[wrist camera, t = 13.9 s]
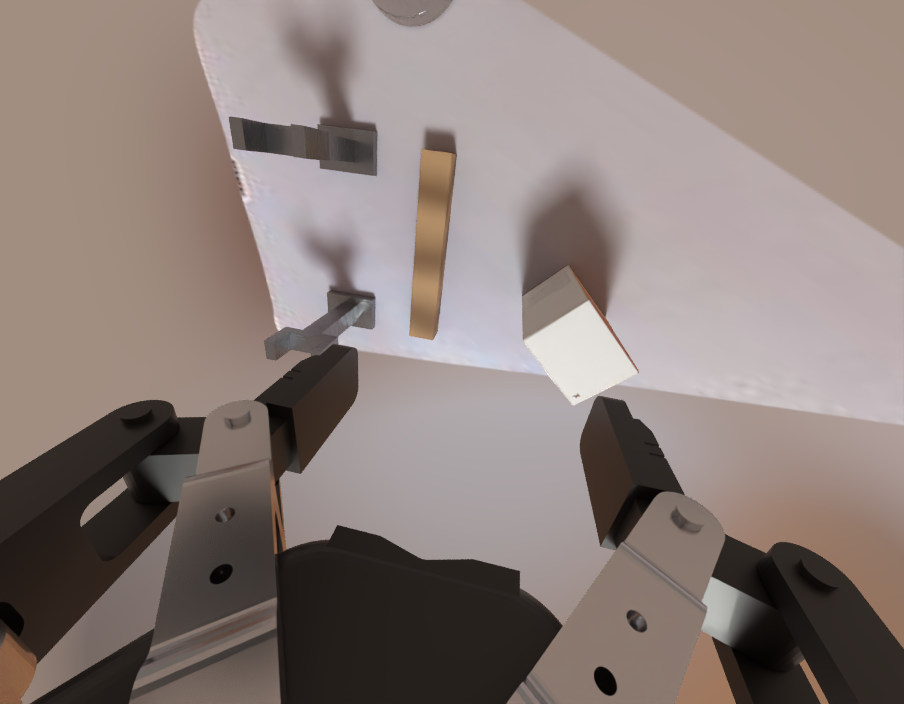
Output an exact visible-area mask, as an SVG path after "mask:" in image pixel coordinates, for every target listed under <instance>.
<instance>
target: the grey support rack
mask: <svg viewBox="0 0 904 704" xmlns="http://www.w3.org/2000/svg"><path fill="white" fill-rule="evenodd" d="M229 122H230V129H231V135H232V141H233V148H234V149H239V150H247V151H257V152H266V153H274V154H281V155H289V156H294V157H299V158H306V159H316V160H320V168H321V169H329V170H336V171H343V172H350V173H358V174H365V175H372V176H377V132H374V131H368V130H360V129H352V128H344V127H336V126H327V125H319V124H318V129H315V128H311V127H307V126H301V125H293V124H291V126H283V125H275V124H267V123H262V122H257V121H252V120H248V119H243V118H236V117H229ZM327 298H328V313H327V314H325V315H324V316H322V317H321V318H320V319H318V320H317V321H315V322H314V323H312V324H311V325H309V326H308V327H306V328H305V329H304V330H300V329H295V328H290V327H285V328H283V329H282V330H280V331H279V332H277V333H275V334H274V335H272V336H271V337H269V338H267V339H266V340H264V344H265V350H266V356H267V359H271V360H278V359H279V358H280V357H282V356H283V355H284V354H286V353H287V352H288V351H290V350H296V351H302V352H307V353H311V357H312V356H314V355H319V356H320V355H321V354H322V353H323V352H324V351H325V350H326V349H328V348H329V347H330V346H331V345H332V344H338V336H339V335H340V334H342V333H343V332H344V331H345V330H346V329H347V328H348V327H350V326H356V327H361V328H366V329H373V328H374V327H375V298H372V297H366V296H360V295H355V294H349V293H343V292H338V291H332V290H331V291H329V292H327Z"/></svg>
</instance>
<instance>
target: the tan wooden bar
mask: <svg viewBox="0 0 904 704" xmlns="http://www.w3.org/2000/svg"><path fill="white" fill-rule="evenodd" d="M456 157H457V155H456V154H453V153H447V152H439V151H432V150H424V149H422V151H421V166H420V181H419V197H418V212H417V227H416V242H415V257H414V272H413V287H412V303H411V318H410V333H409V336H413V337H419V338H424V339H429V340H433V339H434V337H435V335H436V334H437V332H438V323H439V314H440V305H441V295H442V286H443V277H444V268H445V259H446V249H447V240H448V231H449V222H450V213H451V203H452V194H453V185H454V176H455V167H456Z"/></svg>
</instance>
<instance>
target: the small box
mask: <svg viewBox="0 0 904 704" xmlns="http://www.w3.org/2000/svg"><path fill="white" fill-rule="evenodd" d="M522 321H523V342H524V344H525V345H526V346H527V348H528V349H529V350H530V352H531V353H532V354H533V356H534V357H535V358H536V360H537V361H538V362H539V364H540V365H541V366H542V368H543V369H544V371H545V372H546V373H547V375H548V376H549V377H550V379H551V380H552V381H553V382H554V383H555V384H556V385H557V387H558V388H559V389H560V390H561V392H562V393H563V394H564V395H565V397H566V398H567V399H568V400H569V402H570V403H571V404H572V405H576V404H577V403H579V402H581V401H583V400H586V399H588V398H590V397H592V396H594V395H596V394H598V393H600V392H602V391H603V390H606V389H608V388H610V387H612V386H614V385H616V384H618V383H620V382H622V381H624V380H626V379H628V378H630V377H631V376H633V375H635V374H637V373H639V371H638V369H637V368H636V366H635V364H634V363H633V361H632V360H631V358H630V356H629V355H628V353H627V352H626V350H625V349H624V347H623V345H622V344H621V342H620V341H619V339H618V337H617V336H616V334H615V333H614V331H613V329H612V327H611V326H610V324H609V322H608V321H607V319H606V318H605V316H604V315H603V314H602V312H601V311H600V310H599V308H598V307H597V305H596V304H595V302H594V301H593V300H592V298H591V297H590V295H589V294H588V292H587V291H586V289H585V288H584V286H583V285H582V284H581V282H580V281H579V279H578V278H577V276H576V275H575V273H574V272H573V270H572V269H571V267H570V266H569V265H567V266H566V267H564V268H563V269H561V270H560V271H559V272H557V273H556V274H554V275H553V276H551V277H550V278H548V279H547V280H545V281H544V282H543V283H541V284H540V285H538V286H537V287H535V288H534V289H532V290H531V291H529V292H528V293H526V294H525V295H523V296H522Z"/></svg>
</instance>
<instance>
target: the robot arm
mask: <svg viewBox="0 0 904 704" xmlns="http://www.w3.org/2000/svg"><path fill="white" fill-rule="evenodd" d="M372 1H373V2H374V3H375V5H376V6H377V7H378V8H379V9H380V11H381V12H383V13H384V14H385V15H386V16H387V17H388V18H389V19H391V20H393V21H394V22H396V23H398V24H401V25H405V26H421V25H424V24H426V23H429V22H431V21H433V20H434V19H436V18H437V17H438V16H440V15H441V14H442V13H443V12H444V11H445V9H446V8H447V7H448V6H449V5H450V3H451V1H452V0H372ZM357 392H358V352H357V349H356V348H353V347H348V346H343V345H338V344H332V345H331V346H330V347H329V348H328V349H326V350H325V351H324V352H323V353H322V354H321V355H320V356H319V355H314V356H312V357H309V358H307V359H305V360H302V361H301V362H299V363H298V364H297V365H296V366H295V367H293V368H292V369H291V371H289V372H287V373H286V374H285V375H284V376H283V378H280V379H279V380H278V381H276V382H275V383H274V384H273V385H272V386H270V387H269V388H268V389H267V390H266V391H264V392H263V393H262V394H261V395H260V396H258V397H257V398H256V399H255V400H254V401H252V400H243V401H235V402H231V403H228V404H225V405H223V406H221V407H218V408H217V409H215V410H214V411H212V412H211V413H210V414H209V415H208V416H207V417H189V418H188V417H185V418H177V416H176V413H175V410H174V407H173V405H172V404H170V403H169V402H166V401H161V400H146V401H140V402H136V403H132V404H129V405H126V406H123V407H121V408H119V409H116V410H114V411H113V412H111V413H109V414H108V415H106V416H105V417H103V418H101V419H100V420H98V421H96V422H95V423H93V424H91V425H90V426H88V427H86V428H85V429H83V430H82V431H80V432H78V433H77V434H75V435H73V436H72V437H70V438H68V439H67V440H65V441H64V442H62V443H60V444H59V445H57V446H55V447H54V448H52V449H51V450H49V451H47V452H46V453H44V454H42V455H41V456H39V457H37V458H36V459H34V460H32V461H31V462H29V463H28V464H26V465H24V466H23V467H21V468H19V469H18V470H16V471H14V472H13V473H11V474H10V475H8V476H6V477H5V478H3V479H1V480H0V704H22V700H21V698H22V697H23V695H24V693H25V692H26V690H27V689H28V687H29V685H30V683H31V682H32V679H33V677H34V674H35V671H36V666H37V664H38V663H39V662H40V661H41V659H42V658H43V657H44V656H45V655H46V654H47V653H48V652H49V651H50V650H51V649H52V648H53V646H55V644H57V642H58V641H59V640H60V639H61V638H62V637H63V636H64V635H65V634H66V633H67V632H68V631H69V630H70V629H71V628H72V627H73V625H74V624H75V623H76V622H77V621H78V620H79V619H80V618H81V617H82V616H83V615H84V614H85V613H86V612H87V611H88V610H89V608H90V607H91V606H92V605H93V604H94V603H95V602H96V601H97V600H98V599H99V598H100V597H101V596H102V595H103V594H104V593H105V591H107V589H108V588H109V587H110V586H111V585H112V584H113V583H114V582H115V581H116V580H117V579H118V578H119V577H120V576H121V575H122V573H124V571H125V570H126V569H127V568H128V567H129V566H130V565H131V564H132V563H133V562H134V561H135V560H136V559H137V558H138V557H139V556H140V554H141V553H142V552H143V551H144V550H145V549H146V548H147V547H148V546H149V545H150V544H151V543H152V542H153V541H154V540H155V539H156V538H157V536H158V535H159V534H160V533H161V532H162V531H163V530H164V529H165V528H166V527H167V526H168V525H169V524H170V522H172V521H173V519H174V518H175V517H176V516H177V517H176V522H175V527H174V532H173V537H172V542H171V547H170V552H169V557H168V563H167V567H166V573H165V578H164V583H163V588H162V593H161V598H160V603H159V608H158V613H157V618H156V623H155V628H154V629H152V630H151V631H149V632H147V633H146V634H144V635H143V636H141V637H139V638H138V639H136V640H134V641H132V642H131V643H129V644H128V645H126V646H124V647H123V648H121V649H119V650H118V651H116V652H114V653H113V654H111V655H110V656H108V657H106V658H105V659H103V660H101V661H100V662H98V663H96V664H95V665H93V666H91V667H90V668H88V669H87V670H85V671H83V672H81V673H80V674H78V675H77V676H75V677H73V678H71V679H70V680H68V681H67V682H65V683H63V684H62V685H60V686H58V687H57V688H56V689H53V690H52V691H50V692H48V693H47V694H45V695H43V696H42V697H40V698H38V699H37V700H35V701H34V702H32V703H30V704H675V701H676V698H677V696H678V693H679V690H680V687H681V684H682V681H683V679H684V675H685V673H686V670H687V667H688V665H689V662H690V659H691V656H692V653H693V650H694V648H695V645H696V642H697V639H698V636H699V633H700V631H701V630H702V631H704V632H706V633H707V634H709V635H711V636H712V639H713V642H714V645H715V647H716V650H717V653H718V655H719V658H720V661H721V663H722V666H723V669H724V672H725V675H726V677H727V680H728V683H729V686H730V688H731V691H732V694H733V696H734V699H735V702H736V704H820V702H819V700H818V698H817V696H816V694H815V692H814V690H813V688H812V686H811V684H810V683H809V681H808V679H807V677H806V675H805V673H804V671H803V669H802V668H801V666H800V664H799V663H800V662H802V661H803V660H804V659H805V660H806V662H807V663H808V665H809V667H810V669H811V671H812V673H813V674H814V676H815V678H816V680H817V682H818V684H819V685H820V687H821V689H822V691H823V693H824V695H825V696H826V699H827V700H828V703H829V704H904V649H903V647H902V646H901V645H900V644H899V642H898V641H897V640H896V638H895V637H894V636H893V634H892V633H891V632H890V631H889V629H888V628H887V627H886V625H885V624H884V623H883V622H882V620H881V619H880V618H879V616H878V615H877V614H876V612H875V611H874V610H873V608H872V607H871V606H870V605H869V603H868V602H867V601H866V599H865V598H864V597H863V595H862V594H861V593H860V592H859V590H858V589H857V588H856V586H855V585H854V584H853V583H852V582H851V581H850V580H849V579H848V578H847V577H846V575H845V574H843V573H842V572H841V571H840V570H839V569H838V568H836V567H835V566H834V565H833V564H831V563H830V562H829V561H827V560H826V559H824V558H823V557H821V556H819V555H818V554H816V553H814V552H812V551H810V550H809V549H806V548H804V547H802V546H799V545H796V544H793V543H788V542H779V543H776V544H774V546H772V548H771V549H770V550H769V551H768V552H767V553H764V552H762V551H760V550H758V549H756V548H753V547H751V546H749V545H747V544H745V543H742V542H740V541H738V540H736V539H734V538H732V537H729V536H728V535H726V534H725V533H724V530H723V528H722V526H721V524H720V523H719V521H718V520H717V518H716V517H715V516H714V515H713V514H712V513H711V512H710V511H709V510H708V509H706V508H705V507H704V506H703V505H701V504H700V503H698V502H697V501H695V500H693V499H691V498H689V497H687V496H685V494H684V492H683V491H682V489H681V487H680V485H679V483H678V481H677V479H676V477H675V475H674V473H673V471H672V469H671V467H670V465H669V464H668V461H667V460H666V459H665V458H664V454H663V452H662V450H661V448H659V444H658V442H657V440H656V438H655V437H654V435H653V433H652V431H651V430H650V429H649V428H647V426H645V425H644V424H643V423H642V422H641V421H640V420H639V419H633V417H632V415H631V413H630V411H629V409H628V407H627V405H626V403H625V401H623V400H618V399H613V398H608V397H603V396H598V397H597V398H596V399H595V401H594V403H593V406H592V409H591V412H590V414H589V416H588V419H587V422H586V424H585V427H584V429H583V432H582V435H581V440H580V454H581V458H582V463H583V467H584V472H585V477H586V482H587V486H588V491H589V496H590V500H591V505H592V509H593V514H594V519H595V523H596V528H597V532H598V537H599V542H600V546H601V547H604V548H608V549H612V550H616V551H615V552H614V554H613V555H612V557H611V558H610V560H609V561H608V562H607V564H606V565H605V567H604V568H603V570H602V571H601V572H600V574H599V575H598V577H597V578H596V579H595V581H594V582H593V584H592V585H591V587H590V588H589V589H588V591H587V592H586V594H585V595H584V597H583V598H582V600H581V601H580V602H579V604H578V605H577V607H576V608H575V609H574V611H573V613H572V614H571V615H570V617H569V618H568V619H567V621H566V622H565V624H564V625H562V624H561V623H560V622H559V620H558V619H557V618H556V617H555V616H554V615H553V614H552V613H551V612H550V611H549V610H548V609H547V608H546V607H545V606H544V605H543V604H542V603H541V602H539V601H538V600H537V599H535V598H534V597H533V596H531V595H530V594H529V593H527V592H526V591H524V590H522V589H520V571H517V570H513V569H509V568H505V567H501V566H497V565H493V564H489V563H486V562H482V561H477V560H474V559H470V560H469V559H467V560H466V559H465V560H464V559H461V560H424V559H421V558H418V557H417V556H415V555H413V554H411V553H409V552H408V551H406V550H404V549H402V548H401V547H399V546H397V545H395V544H393V543H392V542H390V541H388V540H386V539H385V538H383V537H381V536H378V535H374V534H370V533H367V532H362V531H358V530H354V529H350V528H347V527H343V526H339V525H337V527H336V529H335V531H334V533H333V534H332V536H331V538H330V540H320V541H313V542H308V543H305V544H300V545H298V546H295V547H292V548H289V549H287V548H286V540H285V530H284V519H283V508H282V497H281V485H280V479H279V478H280V477H281V476H282V474H283V473H284V472H285V471H286V470H287V471H291V472H295V473H299V474H301V473H302V471H303V470H304V469H305V467H306V466H307V465H308V463H309V462H310V461H311V459H312V458H313V457H314V455H315V454H316V453H317V451H318V450H319V448H320V447H321V446H322V445H323V443H324V442H325V441H326V439H327V438H328V437H329V435H330V434H331V433H332V431H333V430H334V429H335V427H336V426H337V425H338V423H339V422H340V420H341V419H342V418H343V417H344V415H345V414H346V413H347V411H348V410H349V409H350V407H351V406H352V404H353V403H354V401H355V399H356V396H357ZM122 477H123V479H124V480H125V483H126V485H127V487H128V488H127V489H126V490H125V491H123V492H122V493H121V494H120V495H119V496H118V497H116V498H115V499H114V500H113V501H112V502H111V503H109V504H108V505H107V506H106V507H104V508H103V509H102V510H101V511H100V512H99V513H97V514H96V515H95V516H94V517H93V518H91V519H90V520H89V521H88V522H87V523H86V524H84V525H83V526H82V527H81V526H80V519H81V516H82V514H83V512H84V510H85V509H86V508H87V506H88V505H89V504H90V503H91V502H92V501H93V500H94V499H95V498H97V497H98V496H99V495H100V494H102V493H103V492H104V491H106V490H107V489H108V488H109V487H110V486H112V485H113V484H114V483H116V482H117V481H118V480H119V479H121V478H122Z"/></svg>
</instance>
